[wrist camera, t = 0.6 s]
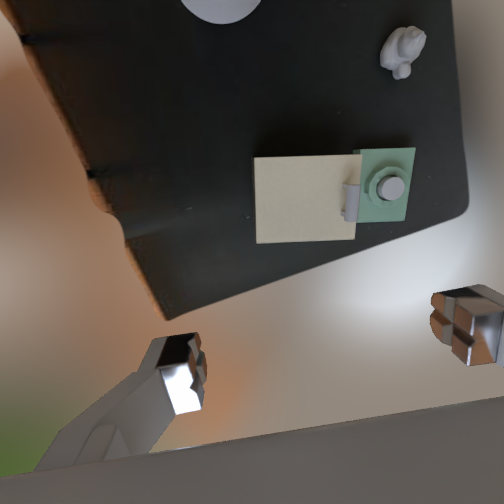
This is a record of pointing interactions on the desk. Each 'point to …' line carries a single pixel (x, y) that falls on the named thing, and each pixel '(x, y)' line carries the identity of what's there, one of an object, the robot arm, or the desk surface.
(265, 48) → the desk surface
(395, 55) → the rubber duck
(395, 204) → the green button base
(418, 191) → the desk surface
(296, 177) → the beige cover lid
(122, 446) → the robot arm
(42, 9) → the desk surface
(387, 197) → the flush button
